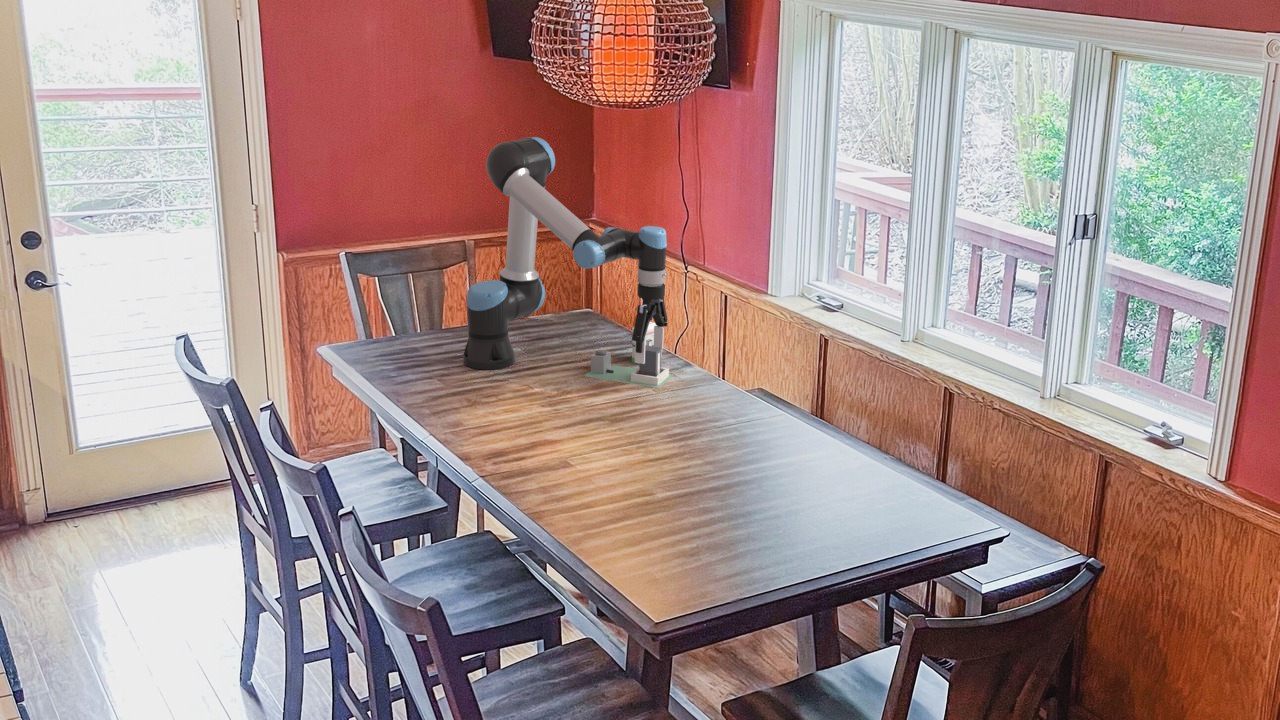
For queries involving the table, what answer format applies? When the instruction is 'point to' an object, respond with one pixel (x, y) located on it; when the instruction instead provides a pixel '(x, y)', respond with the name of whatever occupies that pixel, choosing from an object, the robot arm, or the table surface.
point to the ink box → (648, 338)
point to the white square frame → (650, 377)
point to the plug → (651, 362)
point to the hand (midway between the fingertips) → (649, 355)
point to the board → (622, 376)
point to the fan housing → (601, 362)
